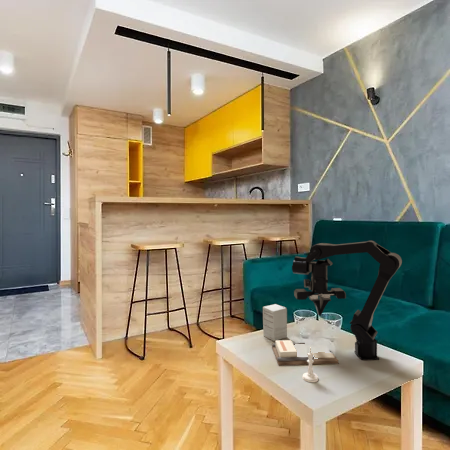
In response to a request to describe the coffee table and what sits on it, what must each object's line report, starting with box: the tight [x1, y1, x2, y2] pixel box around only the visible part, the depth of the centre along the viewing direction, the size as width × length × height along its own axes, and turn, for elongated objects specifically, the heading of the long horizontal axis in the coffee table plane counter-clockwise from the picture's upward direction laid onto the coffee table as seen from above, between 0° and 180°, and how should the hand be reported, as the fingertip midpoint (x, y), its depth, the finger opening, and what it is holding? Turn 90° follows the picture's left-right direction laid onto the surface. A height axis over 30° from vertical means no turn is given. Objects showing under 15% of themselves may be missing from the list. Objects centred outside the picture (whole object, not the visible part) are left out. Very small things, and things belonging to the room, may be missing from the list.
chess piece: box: [302, 347, 319, 383], centre depth 105 cm, size 5×5×10 cm
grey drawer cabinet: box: [262, 303, 288, 342], centre depth 139 cm, size 7×7×13 cm
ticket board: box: [271, 342, 339, 366], centre depth 122 cm, size 21×14×2 cm, turn 91°
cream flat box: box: [274, 339, 297, 357], centre depth 122 cm, size 6×10×2 cm, turn 1°
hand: (319, 315), depth 129 cm, fingers closed
